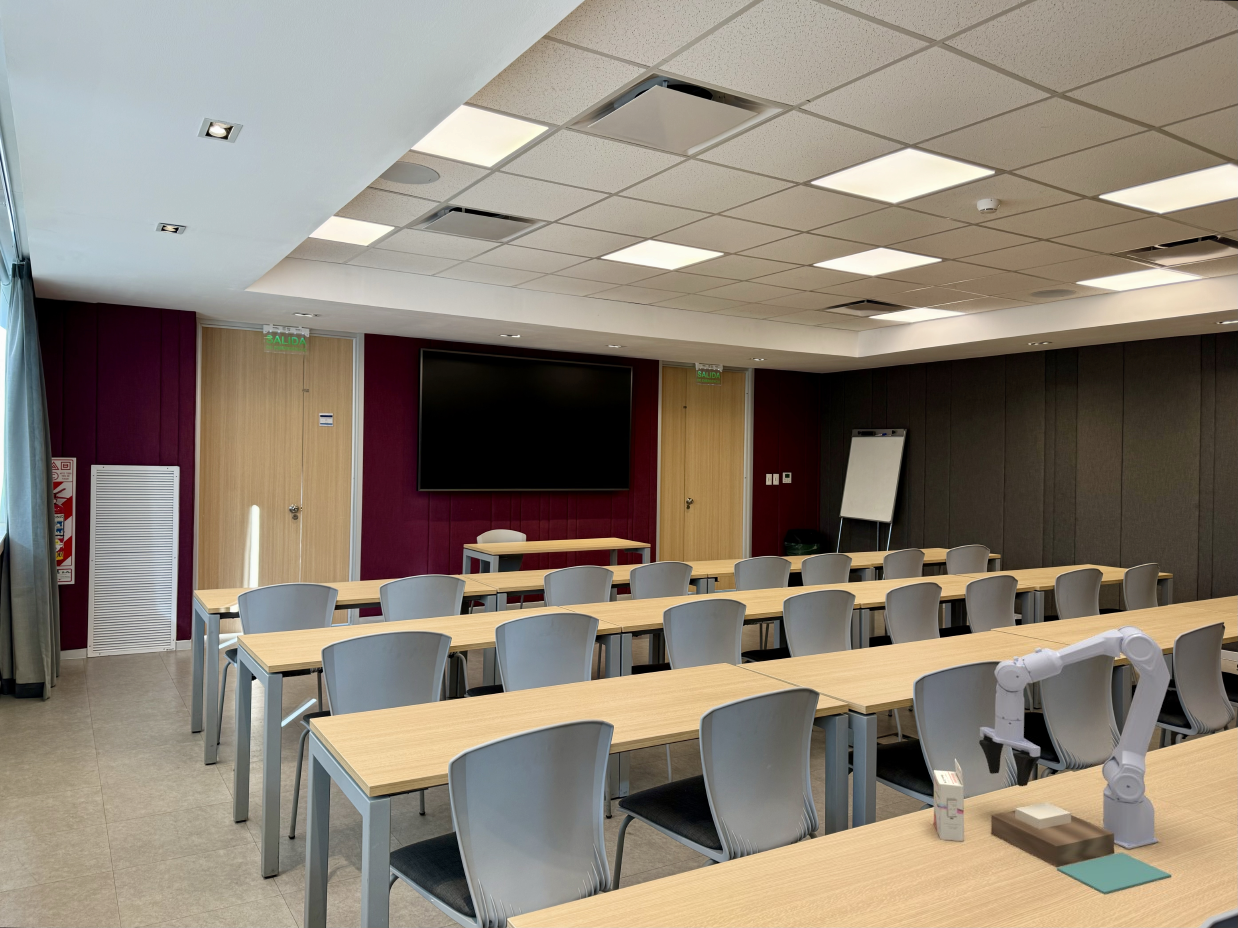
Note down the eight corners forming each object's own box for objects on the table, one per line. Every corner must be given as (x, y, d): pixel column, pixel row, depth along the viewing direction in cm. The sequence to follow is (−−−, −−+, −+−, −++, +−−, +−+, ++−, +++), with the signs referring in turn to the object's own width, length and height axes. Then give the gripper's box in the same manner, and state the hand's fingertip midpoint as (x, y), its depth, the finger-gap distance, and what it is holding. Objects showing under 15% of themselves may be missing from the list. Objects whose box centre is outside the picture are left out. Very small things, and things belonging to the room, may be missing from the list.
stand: (1046, 822, 182) (1046, 803, 182) (1114, 853, 168) (1114, 833, 168) (991, 833, 176) (991, 814, 176) (1056, 866, 162) (1056, 846, 162)
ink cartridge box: (932, 823, 182) (932, 755, 182) (956, 825, 181) (956, 757, 181) (939, 839, 173) (939, 768, 174) (964, 842, 172) (964, 770, 173)
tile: (1046, 811, 178) (1046, 802, 178) (1071, 822, 173) (1071, 812, 173) (1015, 817, 175) (1015, 808, 175) (1039, 829, 169) (1039, 819, 169)
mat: (1121, 854, 167) (1121, 852, 167) (1171, 876, 158) (1171, 874, 158) (1056, 869, 160) (1056, 867, 160) (1104, 894, 151) (1104, 891, 151)
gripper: (970, 709, 187) (968, 769, 187) (1023, 728, 174) (1022, 793, 174) (993, 706, 190) (992, 766, 190) (1048, 725, 177) (1046, 789, 177)
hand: (1008, 778), depth 182 cm, fingers open, 7 cm apart
